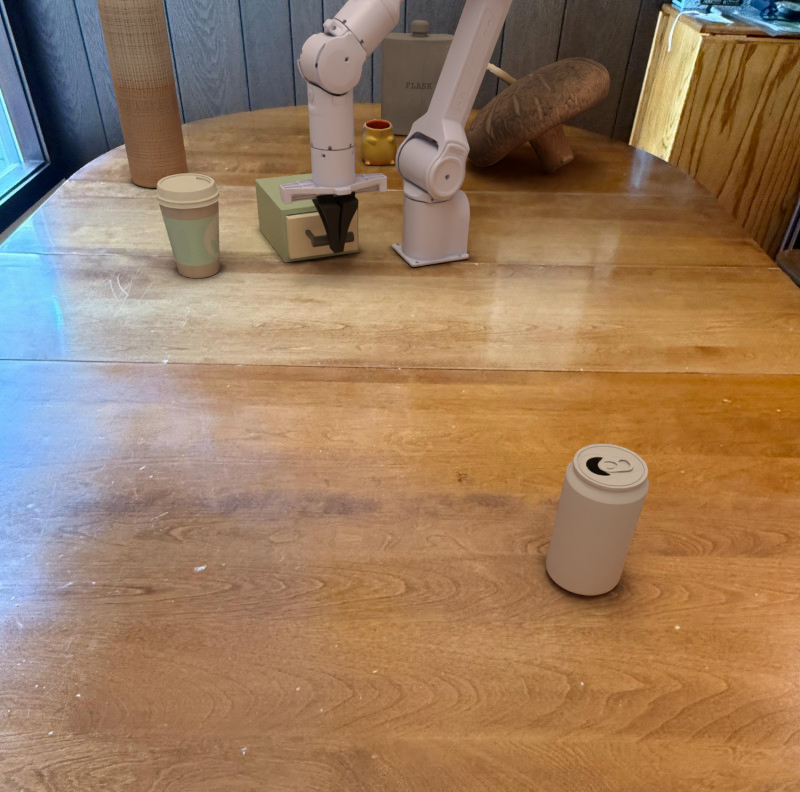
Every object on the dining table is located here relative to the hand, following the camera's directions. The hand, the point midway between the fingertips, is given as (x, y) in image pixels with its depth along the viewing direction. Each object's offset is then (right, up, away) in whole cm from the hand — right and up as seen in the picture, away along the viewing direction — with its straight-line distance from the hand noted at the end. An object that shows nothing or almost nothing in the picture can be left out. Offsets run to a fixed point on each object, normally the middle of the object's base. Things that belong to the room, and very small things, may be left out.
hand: (336, 250), depth 109 cm
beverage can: (+25, -43, -41) cm, 65 cm away
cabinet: (-5, +6, +11) cm, 14 cm away
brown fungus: (+34, +30, +40) cm, 60 cm away
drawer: (-4, +4, +8) cm, 10 cm away
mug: (+5, +34, +43) cm, 55 cm away
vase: (-34, +23, +30) cm, 51 cm away
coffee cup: (-20, -2, +3) cm, 20 cm away
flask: (+12, +45, +56) cm, 73 cm away
